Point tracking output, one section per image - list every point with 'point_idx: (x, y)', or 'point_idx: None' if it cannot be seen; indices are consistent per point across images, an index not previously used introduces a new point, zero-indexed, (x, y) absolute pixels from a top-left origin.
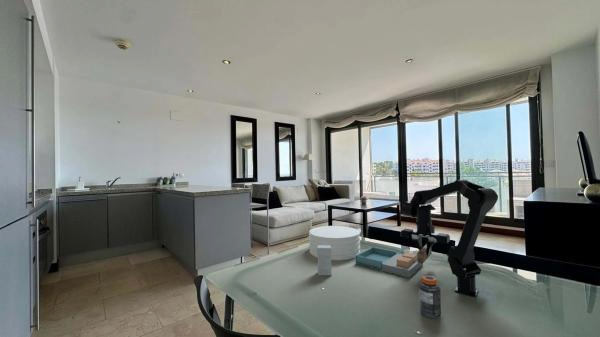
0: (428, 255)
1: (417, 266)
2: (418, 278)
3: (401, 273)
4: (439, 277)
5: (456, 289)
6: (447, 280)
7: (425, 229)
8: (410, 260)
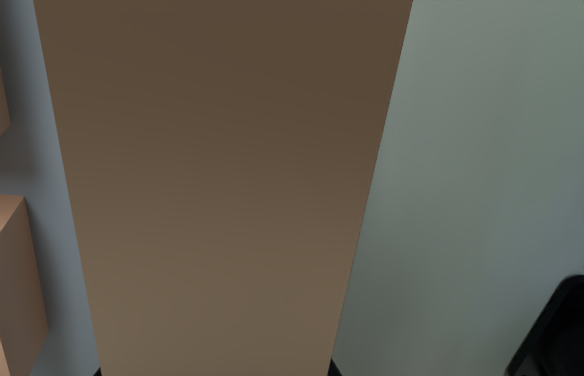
0: None
1: None
2: None
3: None
4: (413, 170)
5: (527, 370)
6: (491, 206)
7: None
8: (1, 322)
